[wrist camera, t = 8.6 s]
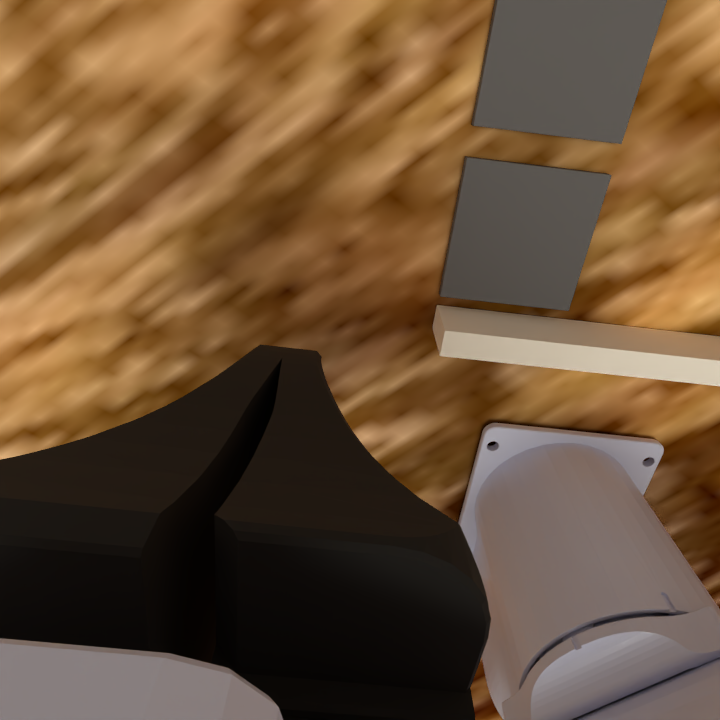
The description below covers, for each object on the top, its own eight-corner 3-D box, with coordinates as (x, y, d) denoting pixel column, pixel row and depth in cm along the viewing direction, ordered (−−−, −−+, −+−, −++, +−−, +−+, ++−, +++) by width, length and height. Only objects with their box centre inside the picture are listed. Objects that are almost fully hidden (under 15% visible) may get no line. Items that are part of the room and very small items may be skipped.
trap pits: (564, 306, 20) (568, 310, 20) (439, 292, 20) (440, 296, 20) (673, -39, 15) (680, -42, 15) (506, -62, 15) (510, -65, 15)
